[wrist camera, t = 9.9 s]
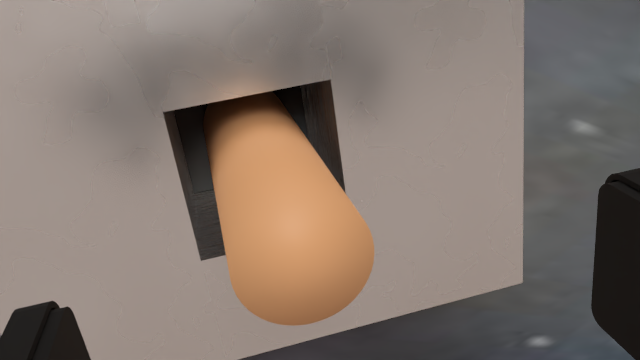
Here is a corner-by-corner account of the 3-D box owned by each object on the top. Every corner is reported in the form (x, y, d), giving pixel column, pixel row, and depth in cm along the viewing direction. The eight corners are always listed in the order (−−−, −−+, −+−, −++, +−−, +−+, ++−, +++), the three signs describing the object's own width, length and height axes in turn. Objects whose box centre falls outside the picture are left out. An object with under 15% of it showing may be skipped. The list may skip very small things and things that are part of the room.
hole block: (442, -93, 20) (524, -103, 15) (457, 220, 24) (522, 282, 20) (-65, -16, 17) (-148, -2, 13) (63, 317, 22) (36, 413, 17)
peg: (279, 75, 20) (366, 180, 11) (293, 154, 22) (380, 305, 13) (194, 91, 20) (214, 214, 11) (213, 171, 21) (244, 341, 12)
